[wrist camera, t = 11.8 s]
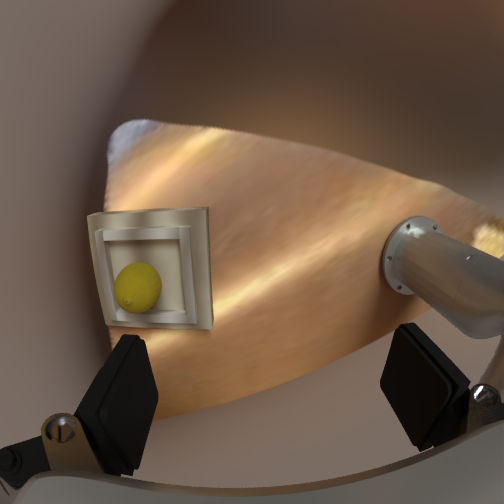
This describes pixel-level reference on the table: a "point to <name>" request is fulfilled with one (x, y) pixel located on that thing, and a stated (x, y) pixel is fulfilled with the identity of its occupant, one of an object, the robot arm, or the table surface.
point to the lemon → (137, 287)
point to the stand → (156, 264)
